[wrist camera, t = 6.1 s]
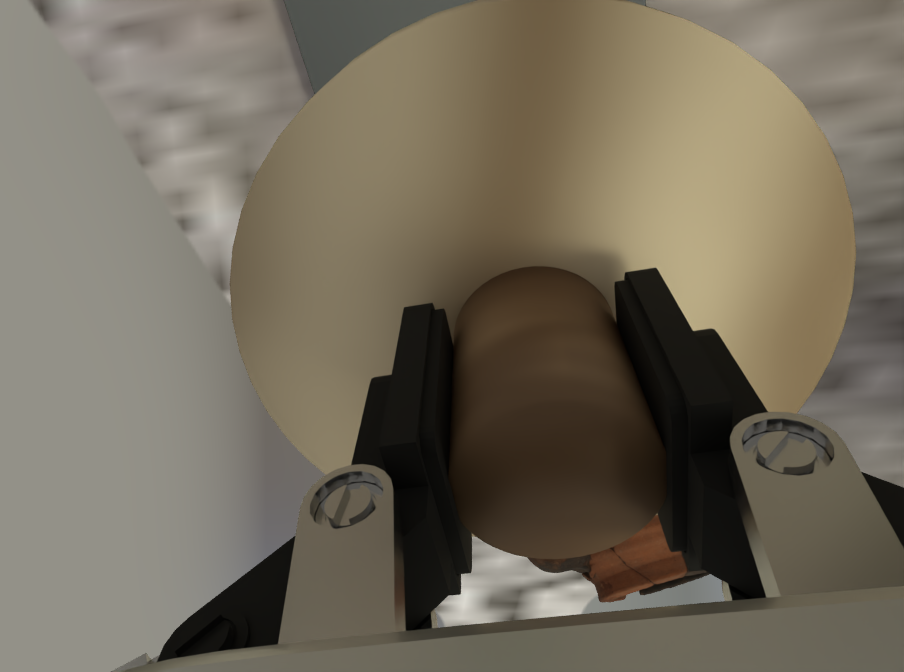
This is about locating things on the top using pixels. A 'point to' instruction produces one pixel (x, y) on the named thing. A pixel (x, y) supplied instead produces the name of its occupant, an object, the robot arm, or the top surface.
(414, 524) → the robot arm
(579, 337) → the lid
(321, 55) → the mat
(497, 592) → the top surface
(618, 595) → the pottery mug
